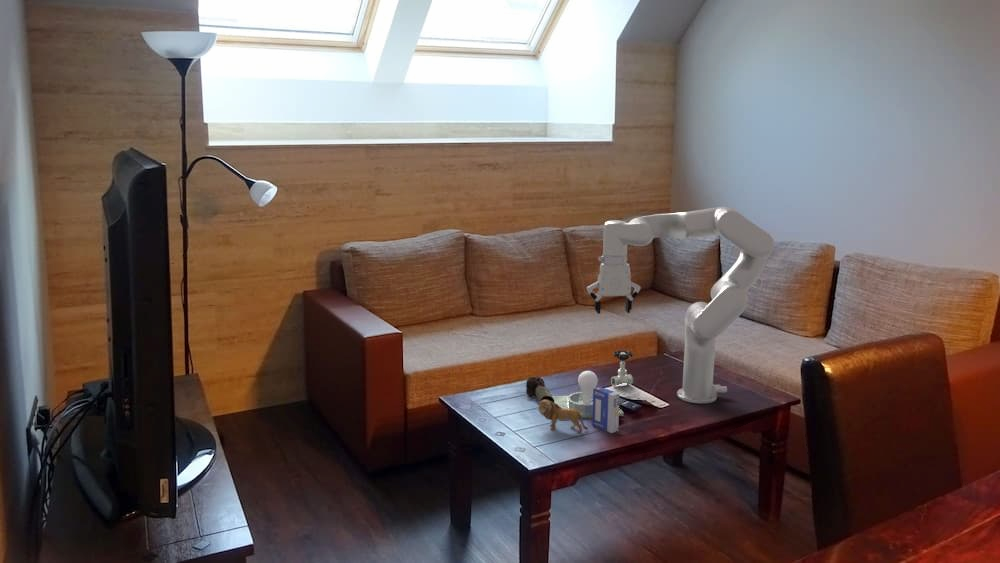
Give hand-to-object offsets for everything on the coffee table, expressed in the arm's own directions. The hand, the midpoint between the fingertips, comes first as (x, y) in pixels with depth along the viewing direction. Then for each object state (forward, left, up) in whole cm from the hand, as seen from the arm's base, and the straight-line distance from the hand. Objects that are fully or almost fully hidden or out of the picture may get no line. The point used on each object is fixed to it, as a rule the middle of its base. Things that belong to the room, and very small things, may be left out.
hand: (612, 312), depth 257 cm
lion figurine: (+21, +26, -29) cm, 44 cm away
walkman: (+8, +26, -28) cm, 39 cm away
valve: (-6, -8, -28) cm, 30 cm away
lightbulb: (+10, +10, -27) cm, 31 cm away
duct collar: (+10, +10, -28) cm, 32 cm away
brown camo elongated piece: (+24, 0, -29) cm, 37 cm away
